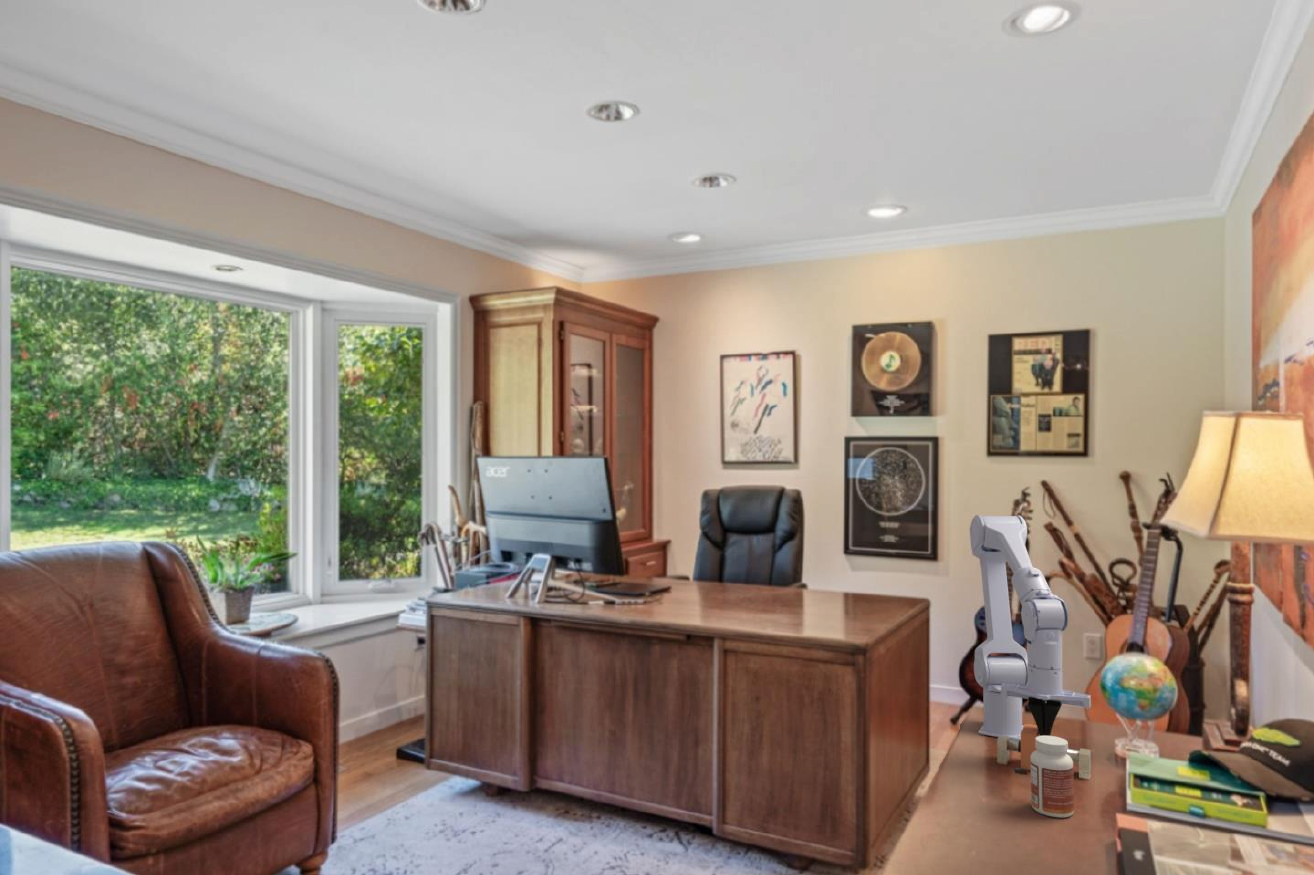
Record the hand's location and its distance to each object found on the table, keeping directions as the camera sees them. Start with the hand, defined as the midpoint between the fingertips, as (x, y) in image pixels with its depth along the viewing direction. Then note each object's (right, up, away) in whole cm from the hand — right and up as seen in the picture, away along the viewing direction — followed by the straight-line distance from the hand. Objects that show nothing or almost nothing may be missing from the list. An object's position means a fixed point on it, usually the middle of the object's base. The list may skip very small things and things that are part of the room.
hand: (1045, 741), depth 149 cm
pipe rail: (0, -5, 0) cm, 5 cm away
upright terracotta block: (-2, -5, +1) cm, 5 cm away
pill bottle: (-7, -5, -18) cm, 20 cm away
